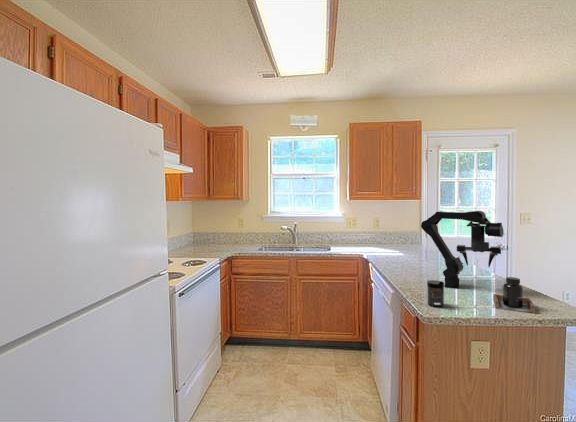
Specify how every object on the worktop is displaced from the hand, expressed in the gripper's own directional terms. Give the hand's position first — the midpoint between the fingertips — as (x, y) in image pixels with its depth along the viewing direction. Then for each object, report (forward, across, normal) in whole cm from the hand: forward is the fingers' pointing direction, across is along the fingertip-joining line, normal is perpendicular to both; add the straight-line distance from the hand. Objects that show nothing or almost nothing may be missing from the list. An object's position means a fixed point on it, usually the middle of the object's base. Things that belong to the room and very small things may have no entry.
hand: (478, 266), depth 149 cm
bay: (+13, +12, -19) cm, 26 cm away
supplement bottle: (+13, +12, -19) cm, 26 cm away
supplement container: (+13, -17, -32) cm, 39 cm away
